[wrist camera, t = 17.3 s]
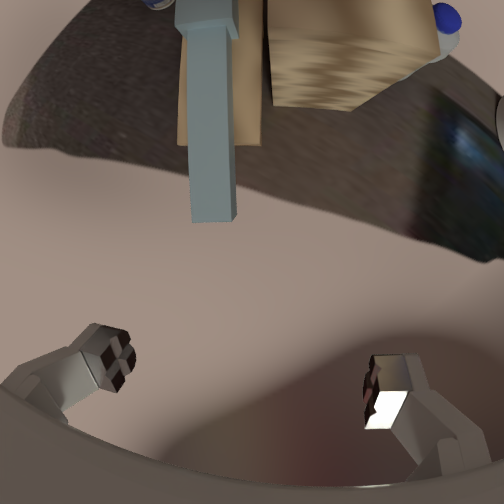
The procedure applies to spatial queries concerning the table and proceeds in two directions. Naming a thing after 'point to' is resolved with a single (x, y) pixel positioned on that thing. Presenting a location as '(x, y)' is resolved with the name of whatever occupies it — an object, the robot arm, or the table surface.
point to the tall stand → (346, 49)
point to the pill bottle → (158, 4)
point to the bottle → (445, 30)
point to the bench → (237, 78)
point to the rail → (210, 105)
